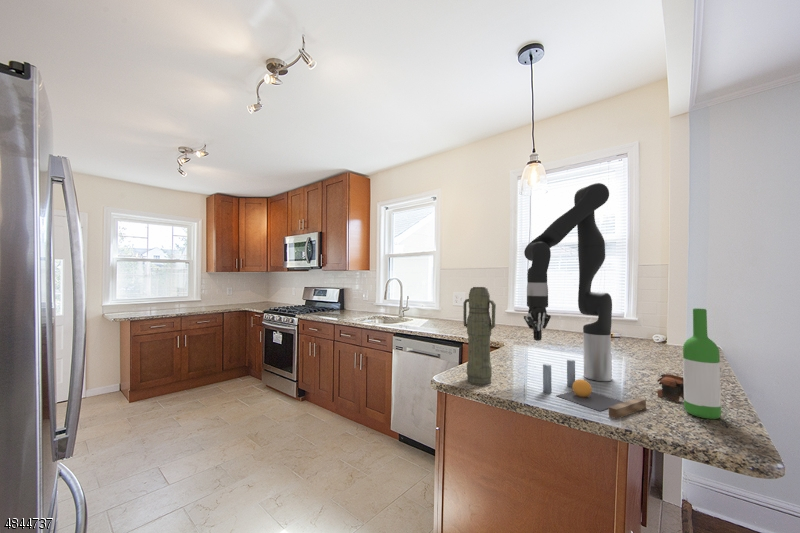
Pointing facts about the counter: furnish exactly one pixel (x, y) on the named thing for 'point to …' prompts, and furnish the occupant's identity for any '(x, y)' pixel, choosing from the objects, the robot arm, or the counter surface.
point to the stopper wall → (627, 407)
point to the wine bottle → (701, 371)
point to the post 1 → (547, 378)
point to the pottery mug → (671, 387)
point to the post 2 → (570, 372)
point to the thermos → (479, 335)
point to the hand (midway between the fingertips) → (537, 340)
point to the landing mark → (591, 400)
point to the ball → (582, 388)
